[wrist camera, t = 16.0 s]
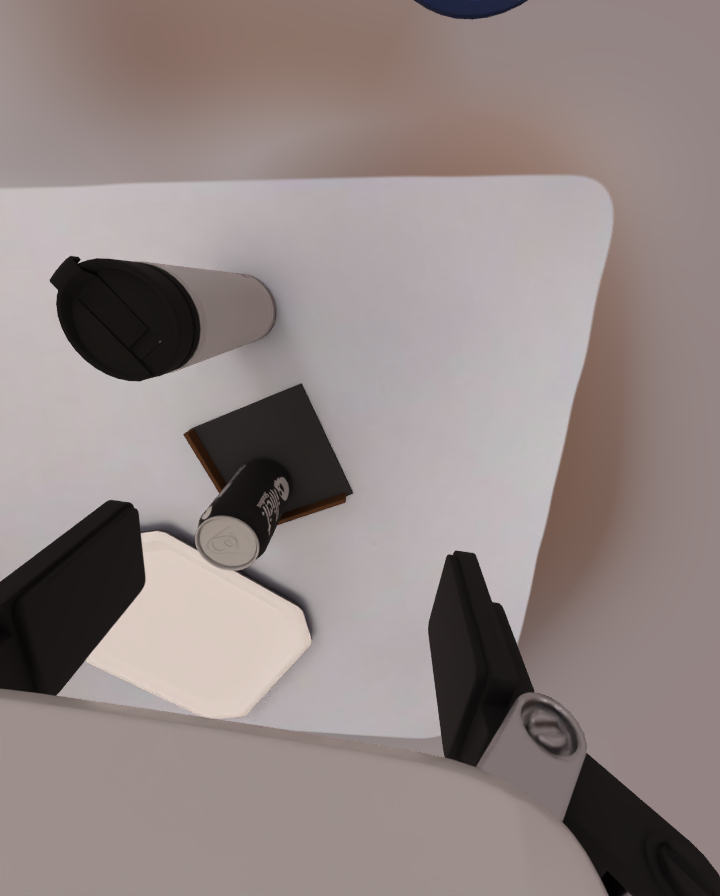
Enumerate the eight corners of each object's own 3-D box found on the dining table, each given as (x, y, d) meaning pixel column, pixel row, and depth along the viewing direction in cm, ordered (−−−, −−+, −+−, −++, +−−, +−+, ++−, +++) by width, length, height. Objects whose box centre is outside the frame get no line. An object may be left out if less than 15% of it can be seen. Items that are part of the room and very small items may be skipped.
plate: (331, 612, 52) (329, 625, 50) (236, 718, 62) (231, 732, 60) (138, 503, 47) (126, 513, 45) (68, 637, 57) (56, 649, 55)
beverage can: (302, 497, 45) (275, 564, 34) (253, 512, 46) (211, 581, 35) (279, 449, 43) (242, 504, 32) (228, 465, 44) (176, 524, 33)
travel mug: (243, 256, 36) (93, 218, 17) (289, 315, 38) (197, 337, 19) (199, 299, 38) (19, 307, 19) (245, 353, 39) (121, 408, 21)
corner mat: (191, 428, 43) (183, 434, 41) (301, 383, 40) (297, 387, 38) (250, 526, 48) (245, 536, 46) (352, 492, 45) (351, 500, 43)
